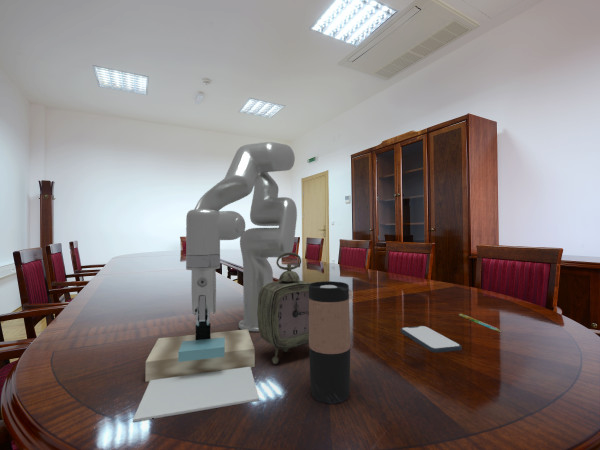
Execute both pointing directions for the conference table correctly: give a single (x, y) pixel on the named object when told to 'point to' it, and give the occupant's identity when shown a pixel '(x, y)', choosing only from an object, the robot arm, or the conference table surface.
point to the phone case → (430, 339)
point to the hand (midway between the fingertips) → (203, 342)
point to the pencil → (480, 322)
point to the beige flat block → (167, 365)
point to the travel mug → (329, 341)
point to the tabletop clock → (284, 310)
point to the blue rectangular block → (201, 349)
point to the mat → (197, 393)
